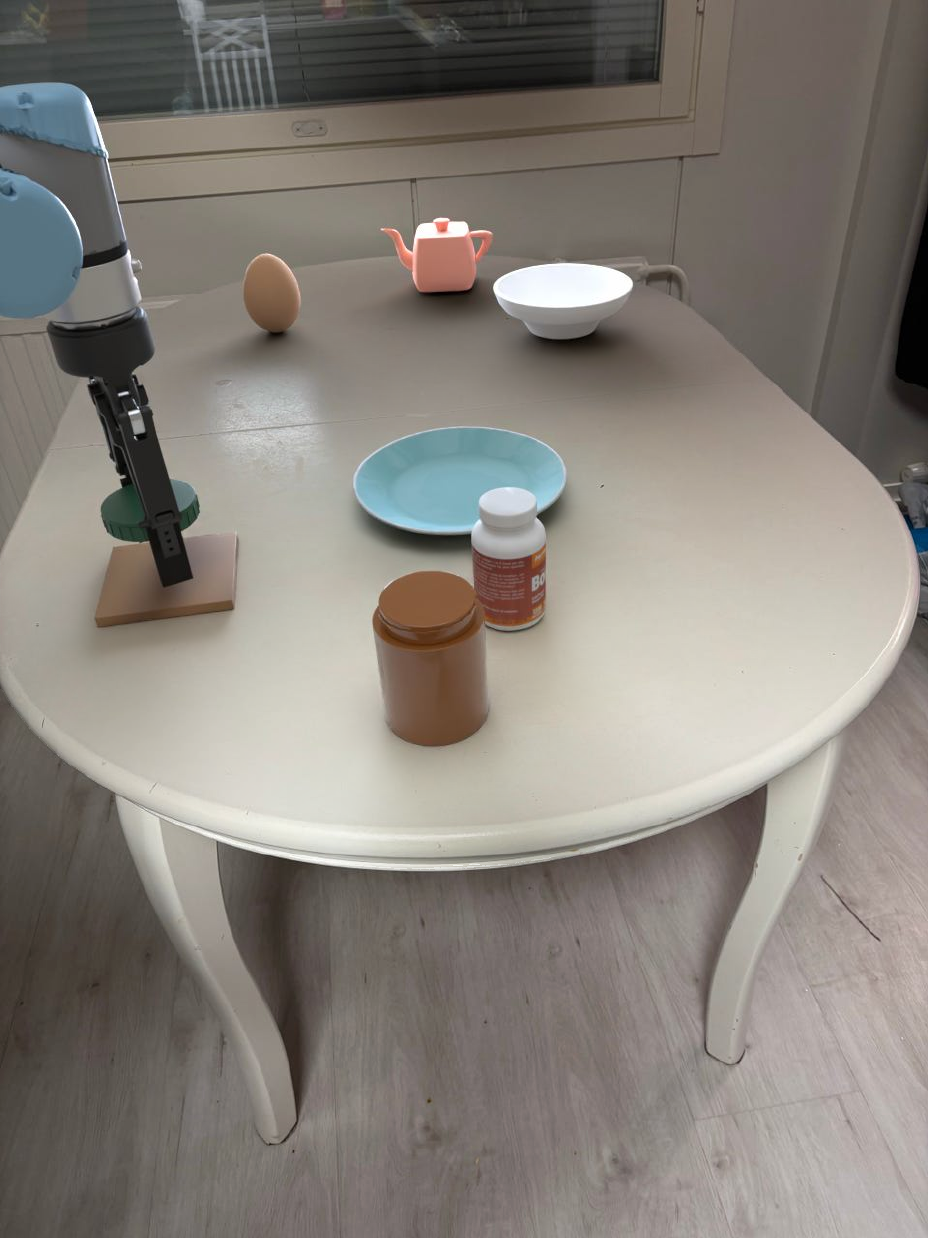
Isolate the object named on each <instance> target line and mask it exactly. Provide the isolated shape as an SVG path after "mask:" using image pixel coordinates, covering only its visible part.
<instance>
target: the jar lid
mask: <svg viewBox="0 0 928 1238" xmlns="http://www.w3.org/2000/svg"><path fill="white" fill-rule="evenodd" d="M170 482H171V485H172V488H173V492H174V495H175V498H176V502H177V505H178V509H179V511H180V512H181V514H182V516H181V517H182V519H181V520H182V521H179V526H180V530H181V532H183V531H185V530H186V529H188V528H189V527H191V526H192V525H193V524H194V523H195V522H196V521H197V520H198V517H199V515H200V514H201V510H200V508H201V505H200V501H199V497H198V494H197V493H196V490H195V488H194V486H192V485H191V484H189V483H188V482H186V481H183V480H179V479H176V478H175V479H174V478H170ZM100 517H101V520H102V523H103V527H104V528H105V531H106V533H107V534H109V535H110V536H111V537H112V538H114V539H116V540H119V541H123V542H128V543H129V542H130V543H139V542H142V543H148V542H149V540H148V536H147V533H146V530H145V528H143V529H139V527H138V524H137V522H139V521H142V520H144V513H143V511H142V508H141V505H140V502H139V499H138V496H137V493H136V490H135V487H134V484H130V485H127V486H125V487H123V488H122V487H120V488H119V489H116V490H115V491H114V492H112V493H110V494H109V495H108V496H107V497H106V498H104V500H103V501H102V503H101V505H100Z"/></svg>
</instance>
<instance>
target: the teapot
mask: <svg viewBox="0 0 928 1238" xmlns="http://www.w3.org/2000/svg"><path fill="white" fill-rule="evenodd" d="M380 230H381V231H382V232H383V233H386V234H388V235H389V236H390V238H391V239H392V241H393V243H394V247H395V250H396V252H397V256H398V259H399V261H400V262H401V263H402V265H403V266H404V267H405V268H407V270H410V271H412V279H413V281H414V284H415V287H416V289H417V291H418V292H421V293H439V292H462V291H468V290H470V289H471V288H472V287H473V285H474V282H475V279H476V276H477V263H478V262H479V261H480V260H481V259H482V258H483V257H484V256H485V255H486V253H487V252H488V251H489V250H490V248H491V246H492V244H493V241H494V234H493V232H491V231H489V230H472V231H470V230H469V225H468V223H466V222H465V221H450V219H449V218H447V217H439V218H435V219H434V220H433V222H428V223H427V222H425V223H420V225H418V226H417V228H416V230H415V235H414V240H413V241H414V242H413V248H412V251H411V250H409V249H407V248H406V246H405V243H404V241H403V238H402V236H401V234H400V232H398V230H396V229H393V228H380ZM472 238H481V239H482V242H481V246H480V248H479V250H478V252H477V253H476V252H475V247H474V244H473V239H472Z"/></svg>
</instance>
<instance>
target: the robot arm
mask: <svg viewBox="0 0 928 1238" xmlns="http://www.w3.org/2000/svg"><path fill="white" fill-rule="evenodd" d="M108 159H109V152H108V151H107V149H106V146H105V144H104V140H103V137H102V134H101V130H100V127H99V123H98V121H97V117H96V115H95V113H94V110H93V106H92V104H91V101H90V99H89V97H88V96H87V94H86V93H85V92H84V91H83V90H82V89H81V88H80V87H78V86H75V85H74V84H71V83H67V82H66V83H65V82H33V83H32V82H31V83H21V84H13V85H6V86H5V85H4V86H0V316H1V317H4V318H9V319H14V320H15V319H16V320H28V319H36V318H38V317H42V318H43V319H45V320H47V321H48V322H47V325H46V328H45V329H46V332H47V335H48V338H49V342H50V345H51V348H52V352H53V355H54V357H55V361H56V364H57V366H58V368H59V369H60V370H61V371H62V372H63V373H65V374H67V375H69V376H73V377H77V378H86V379H88V382H89V383H88V384H86V388H87V391H88V395H89V397H90V399H91V402H92V403H93V405H94V406H95V410H96V411H95V412H96V414H97V417H98V419H99V422H100V424H101V426H102V430H103V434H104V437H105V441H106V444H107V449H108V452H109V453H108V456H109V459H110V460H111V461H112V462H113V463H114V464H115V466H114V467H115V468H114V469H115V472H116V474H117V475H119V477H123V476H124V477H123V478H119V482H120V485H121V488H123V487H125V486H127V485H130V484H134V487H135V490H136V493H137V496H138V499H139V502H140V505H141V508H142V511H143V513H144V520H142V521H139V522H137V524H138V527H139V529H143V528H145V530H146V533H147V536H148V540H149V541H148V542H149V543H150V547H151V550H152V553H153V557H154V560H155V564H156V567H157V570H158V574H159V577H160V581H161V584H162V586H163V588H165V587H168V586H171V585H174V584H177V583H181V582H184V581H187V580H190V579H193V574H192V571H191V567H190V563H189V559H188V556H187V552H186V548H185V545H184V541H183V538H184V537H183V533H182V531H181V530H180V526H179V521H182V520H181V519H182V517H181V516H182V514H181V512H180V511H179V509H178V505H177V502H176V498H175V495H174V492H173V488H172V485H171V482H170V479H171V478H170V475H169V471H168V468H167V465H166V462H165V458H164V454H163V451H162V448H161V445H160V441H159V438H158V434H157V430H156V426H155V422H154V418H153V417H154V412H153V409H152V408H151V407H150V405H149V401H150V400H149V396H148V394H147V391H146V388H145V385H144V383H140V381H139V379H138V377H137V374H136V373H133V372H134V371H135V370H136V369H138V368H139V367H140V366H144V365H146V364H147V363H148V362H149V361H151V359H152V358H153V356H154V355H155V350H156V348H155V347H156V346H155V343H154V340H153V336H152V332H151V327H150V324H149V320H148V315H147V312H146V311H145V309H143V308H142V307H141V306H139V305H140V303H141V302H142V296H141V291H140V286H139V283H138V280H137V278H136V277H135V274H138V273H140V272H141V271H142V269H143V267H142V263H141V262H140V260H139V259H137V258H132V256H131V252H130V250H129V247H130V246H129V243H128V239H127V236H126V232H125V228H124V225H123V220H122V216H121V212H120V208H119V203H118V200H117V195H116V190H115V186H114V183H113V178H112V174H111V169H110V165H109V161H108ZM140 543H143V542H138V544H140Z"/></svg>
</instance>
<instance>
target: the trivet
mask: <svg viewBox="0 0 928 1238" xmlns="http://www.w3.org/2000/svg"><path fill="white" fill-rule="evenodd" d="M183 541H184V545H185V548H186V552H187V556H188V559H189V563H190V567H191V571H192V574H193V579H190V580H187V581H184V582H181V583H177V584H174V585H171V586H168V587H165V588H163V586H162V584H161V581H160V577H159V574H158V570H157V567H156V564H155V560H154V557H153V553H152V550H151V547H150V543H149V541H148V542H142V543H134V544H126V545H118V546H113V547H112V550H111V555H110V558H109V561H108V565H107V568H106V569H107V570H106V573H105V577H104V581H103V585H102V588H101V592H100V595H99V599H98V602H97V603H98V604H97V607H96V610H95V614H94V621H95V625H96V627H97V628H100V627H102V628H103V627H107V626H115V625H116V626H117V625H124V624H131V623H138V622H147V621H153V620H162V619H170V618H176V617H183V616H190V615H197V614H206V613H207V614H208V613H213V612H222V611H230V610H234V609H235V603H236V602H235V601H236V584H237V572H238V571H237V569H238V553H239V536H238V532H237V531H229V532H222V533H221V532H220V533H213V534H205V535H198V536H189V537H183Z"/></svg>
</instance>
